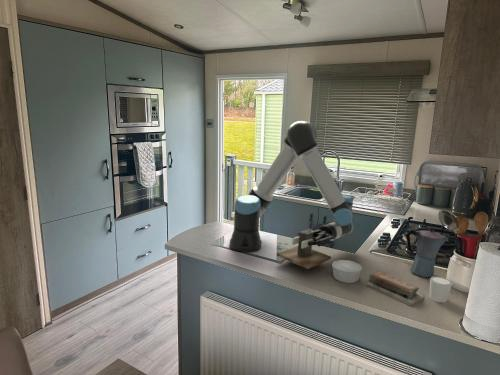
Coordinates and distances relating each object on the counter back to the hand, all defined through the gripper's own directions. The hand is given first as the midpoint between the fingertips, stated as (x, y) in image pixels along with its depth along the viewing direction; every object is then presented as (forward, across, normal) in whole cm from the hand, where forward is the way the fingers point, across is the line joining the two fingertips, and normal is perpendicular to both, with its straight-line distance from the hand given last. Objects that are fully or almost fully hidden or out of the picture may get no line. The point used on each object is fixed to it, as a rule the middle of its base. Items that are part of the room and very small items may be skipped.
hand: (297, 243), depth 139 cm
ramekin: (-9, -18, -11) cm, 23 cm away
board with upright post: (-5, 0, -8) cm, 9 cm away
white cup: (-21, -48, -10) cm, 53 cm away
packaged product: (-14, -35, -11) cm, 39 cm away
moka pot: (-38, -36, -10) cm, 54 cm away
